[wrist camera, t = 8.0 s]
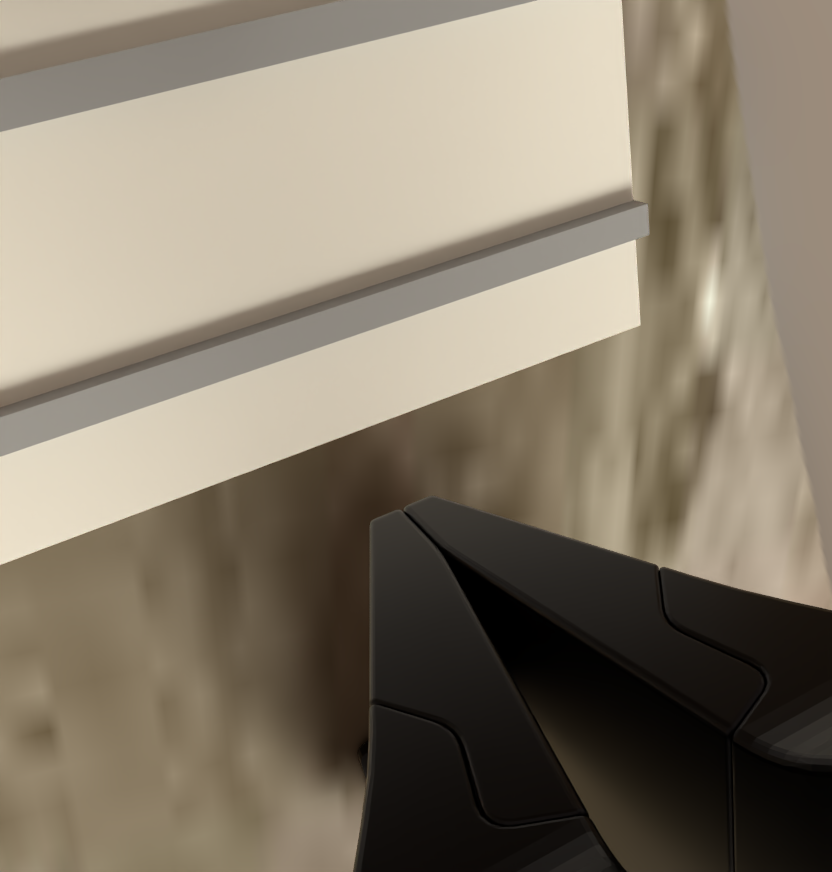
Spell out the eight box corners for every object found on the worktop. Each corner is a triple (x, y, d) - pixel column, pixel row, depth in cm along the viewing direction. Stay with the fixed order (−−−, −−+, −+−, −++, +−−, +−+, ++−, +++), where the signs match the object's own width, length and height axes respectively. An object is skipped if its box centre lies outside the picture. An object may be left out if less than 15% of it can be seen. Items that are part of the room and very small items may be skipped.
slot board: (581, 298, 24) (654, 331, 21) (-58, 526, 19) (-83, 609, 16) (534, -178, 18) (626, -228, 15) (-397, -8, 14) (-532, -30, 11)
